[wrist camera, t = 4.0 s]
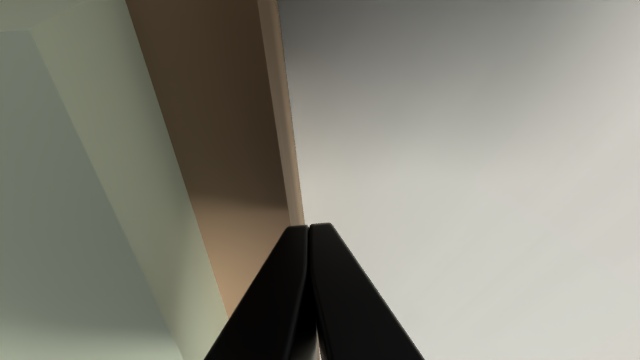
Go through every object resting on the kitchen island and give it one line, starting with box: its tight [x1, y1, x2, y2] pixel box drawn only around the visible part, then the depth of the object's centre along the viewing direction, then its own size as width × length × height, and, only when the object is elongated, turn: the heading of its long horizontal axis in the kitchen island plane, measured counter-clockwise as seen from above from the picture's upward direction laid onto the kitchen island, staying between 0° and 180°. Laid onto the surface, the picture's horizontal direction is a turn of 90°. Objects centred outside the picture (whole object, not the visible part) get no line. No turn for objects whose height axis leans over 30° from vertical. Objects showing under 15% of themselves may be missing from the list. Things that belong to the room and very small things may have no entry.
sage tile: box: [0, 0, 229, 360], centre depth 8 cm, size 6×9×2 cm, turn 4°
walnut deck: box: [125, 0, 320, 360], centre depth 10 cm, size 12×22×4 cm, turn 4°
